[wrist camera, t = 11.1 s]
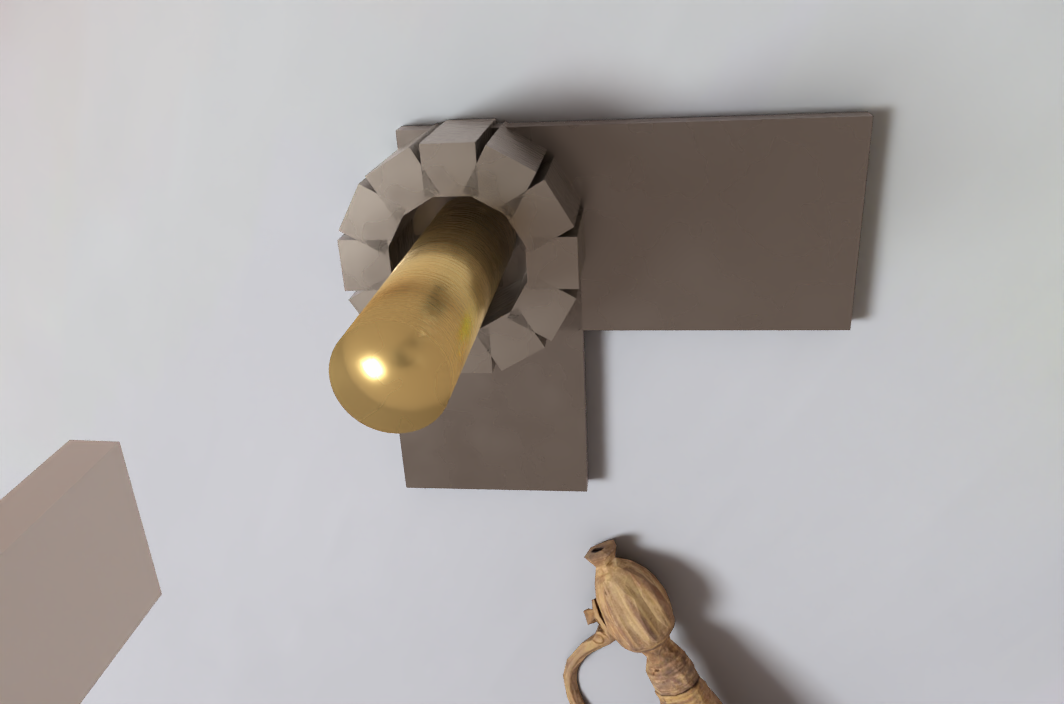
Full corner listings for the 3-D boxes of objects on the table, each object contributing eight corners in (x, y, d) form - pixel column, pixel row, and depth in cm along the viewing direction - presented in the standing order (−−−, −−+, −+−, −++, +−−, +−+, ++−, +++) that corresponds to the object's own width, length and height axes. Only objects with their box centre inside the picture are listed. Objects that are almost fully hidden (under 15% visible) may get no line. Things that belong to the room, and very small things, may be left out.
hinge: (362, 122, 37) (323, 146, 33) (867, 106, 35) (901, 130, 30) (407, 476, 45) (380, 535, 40) (828, 484, 42) (850, 549, 38)
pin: (429, 195, 37) (320, 321, 25) (512, 193, 37) (445, 320, 24) (437, 275, 39) (338, 433, 26) (518, 273, 38) (457, 433, 26)
